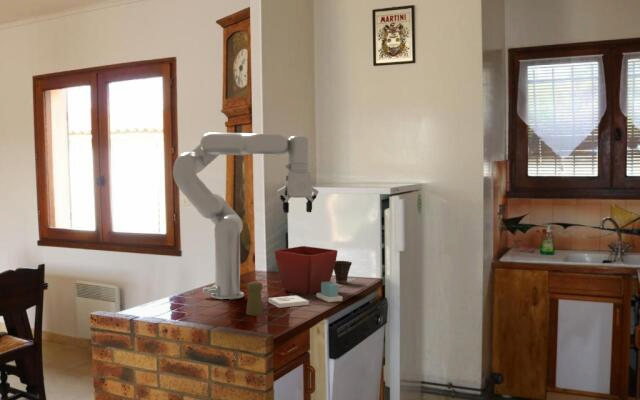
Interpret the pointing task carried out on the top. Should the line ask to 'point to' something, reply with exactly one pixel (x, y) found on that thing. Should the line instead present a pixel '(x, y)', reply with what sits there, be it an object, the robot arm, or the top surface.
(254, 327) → the top surface
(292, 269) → the plant pot
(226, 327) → the top surface
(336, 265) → the cup
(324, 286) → the stub
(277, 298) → the white flat slab
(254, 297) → the olive green pepper shaker
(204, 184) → the robot arm
